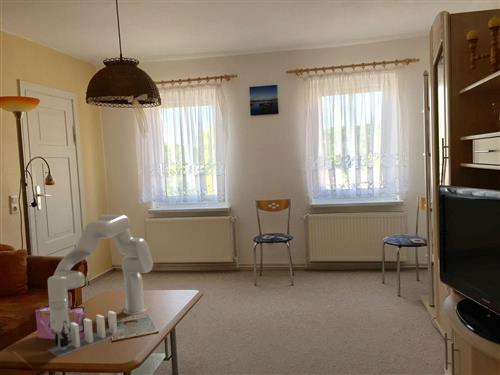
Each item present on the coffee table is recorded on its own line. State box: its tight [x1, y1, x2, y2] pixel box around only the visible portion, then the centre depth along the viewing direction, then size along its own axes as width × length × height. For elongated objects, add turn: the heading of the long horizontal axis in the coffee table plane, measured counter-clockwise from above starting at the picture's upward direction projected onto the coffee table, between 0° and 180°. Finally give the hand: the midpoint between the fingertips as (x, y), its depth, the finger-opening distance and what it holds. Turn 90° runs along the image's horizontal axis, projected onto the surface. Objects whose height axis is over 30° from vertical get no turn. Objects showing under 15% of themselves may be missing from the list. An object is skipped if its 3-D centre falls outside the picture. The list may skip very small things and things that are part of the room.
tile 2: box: [95, 314, 106, 339], centre depth 191 cm, size 5×2×10 cm, turn 46°
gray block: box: [57, 329, 66, 350], centre depth 178 cm, size 5×2×10 cm, turn 46°
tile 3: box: [83, 317, 94, 343], centre depth 187 cm, size 5×2×10 cm, turn 46°
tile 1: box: [107, 310, 118, 334], centre depth 195 cm, size 5×2×10 cm, turn 46°
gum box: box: [35, 304, 86, 342], centre depth 194 cm, size 24×8×14 cm, turn 72°
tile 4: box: [70, 322, 80, 348], centre depth 182 cm, size 5×2×10 cm, turn 46°
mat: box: [46, 324, 141, 358], centre depth 191 cm, size 12×40×1 cm, turn 136°
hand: (62, 344), depth 178 cm, fingers closed on gray block, 4 cm apart
